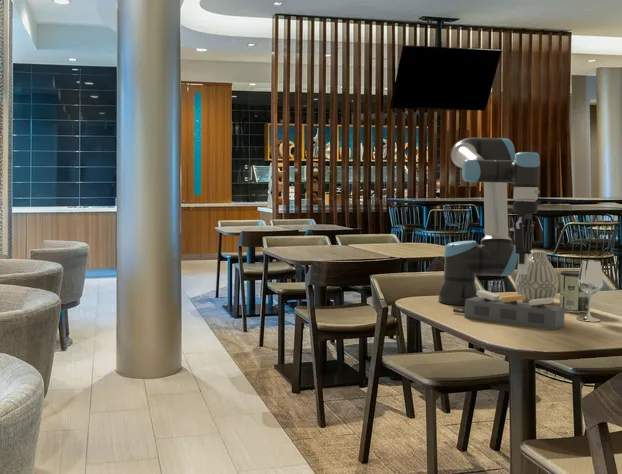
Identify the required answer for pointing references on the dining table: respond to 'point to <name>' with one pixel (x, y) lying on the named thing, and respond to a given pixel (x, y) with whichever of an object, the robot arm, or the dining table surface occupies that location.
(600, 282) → the wineglass
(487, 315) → the power strip
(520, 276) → the vase
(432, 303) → the dining table surface
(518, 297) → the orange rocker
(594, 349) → the dining table surface
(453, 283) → the robot arm
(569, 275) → the coffee can
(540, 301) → the block
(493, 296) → the block
